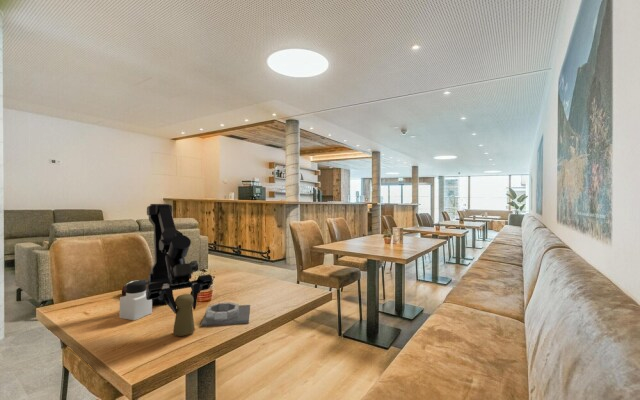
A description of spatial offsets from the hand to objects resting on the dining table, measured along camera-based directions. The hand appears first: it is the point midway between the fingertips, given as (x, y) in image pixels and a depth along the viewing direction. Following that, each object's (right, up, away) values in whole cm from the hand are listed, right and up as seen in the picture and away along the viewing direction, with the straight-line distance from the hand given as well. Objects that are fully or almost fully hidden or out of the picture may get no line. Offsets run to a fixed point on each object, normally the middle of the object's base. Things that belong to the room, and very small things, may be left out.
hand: (185, 310), depth 91 cm
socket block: (+8, -7, +15) cm, 19 cm away
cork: (-1, -7, +1) cm, 7 cm away
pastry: (-38, -7, +40) cm, 56 cm away
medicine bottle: (-24, -7, +15) cm, 29 cm away
